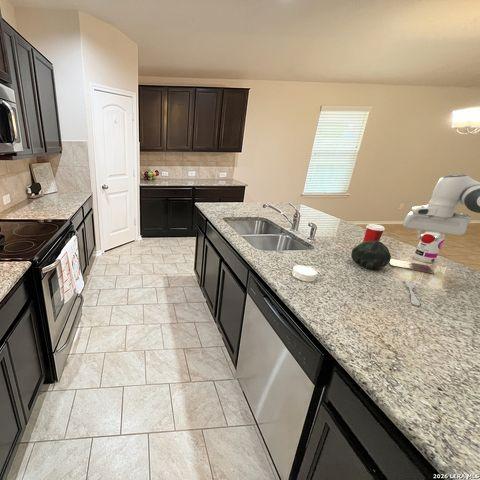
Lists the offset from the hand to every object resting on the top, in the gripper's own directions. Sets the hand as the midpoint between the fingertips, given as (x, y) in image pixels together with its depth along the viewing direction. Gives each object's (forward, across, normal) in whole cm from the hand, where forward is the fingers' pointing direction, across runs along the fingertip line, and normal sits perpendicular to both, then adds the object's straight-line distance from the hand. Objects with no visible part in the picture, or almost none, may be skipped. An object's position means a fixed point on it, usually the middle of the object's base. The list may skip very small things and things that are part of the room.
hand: (427, 239), depth 118 cm
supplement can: (+16, -7, -19) cm, 26 cm away
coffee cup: (+16, +17, -18) cm, 29 cm away
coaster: (+16, +45, +38) cm, 61 cm away
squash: (+16, +19, +7) cm, 26 cm away
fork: (+16, +6, +28) cm, 33 cm away
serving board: (+16, +1, -5) cm, 17 cm away
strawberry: (0, 0, 0) cm, 0 cm away
